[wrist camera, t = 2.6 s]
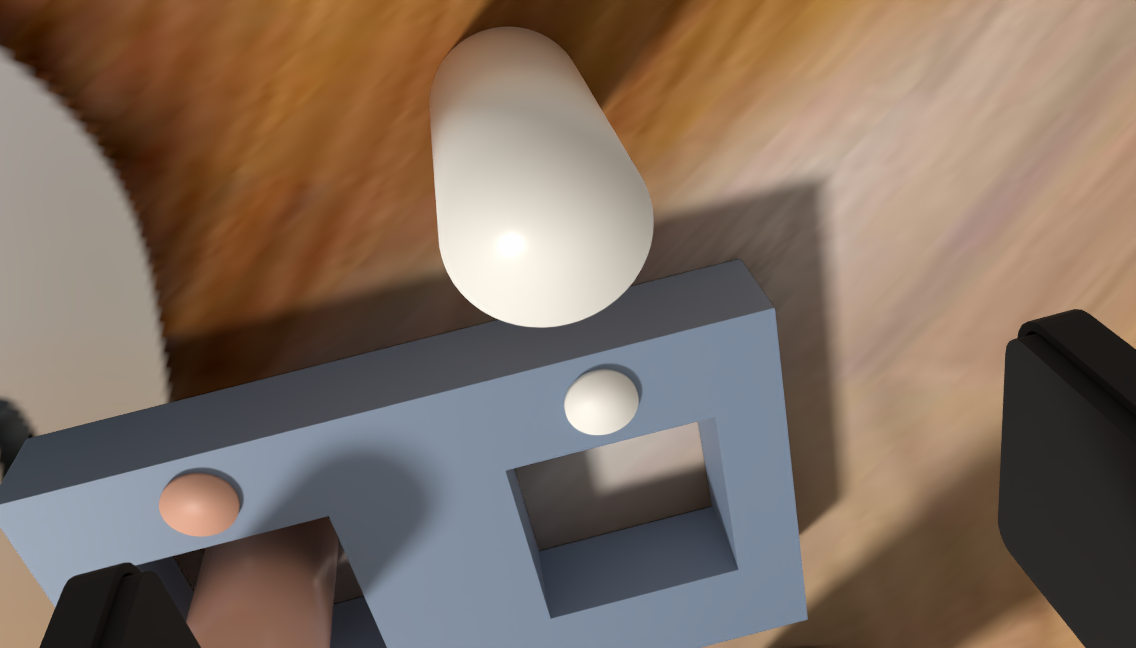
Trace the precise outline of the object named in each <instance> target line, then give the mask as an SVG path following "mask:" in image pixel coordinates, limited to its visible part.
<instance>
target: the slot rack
mask: <svg viewBox="0 0 1136 648" xmlns="http://www.w3.org/2000/svg"><path fill="white" fill-rule="evenodd" d="M697 421H698V425H699V431H700V437H701V443H702V449H703V455H704V461H705V468H706V474H707V480H708V486H709V492H710V498H711V504H712V507H708V508H705V509H701V510H697V511H693V512H689V513H685V514H681V515H678V516H674V517H670V518H666V519H662V520H658V521H654V522H651V523H647V524H643V525H639V526H635V527H631V528H627V529H623V530H620V531H616V532H612V533H608V534H604V535H600V536H596V537H593V538H589V539H585V540H581V541H577V542H573V543H569V544H566V545H562V546H558V547H554V548H550V549H546V550H542V551H539V550H538V547H537V543H536V540H535V536H534V533H533V530H532V526H531V523H530V520H529V516H528V513H527V510H526V506H525V503H524V500H523V496H522V493H521V490H520V486H519V483H518V480H517V476H516V473H515V470H514V468H518V467H522V466H526V465H529V464H533V463H537V462H541V461H545V460H549V459H553V458H557V457H561V456H565V455H568V454H572V453H576V452H580V451H584V450H588V449H592V448H596V447H600V446H604V445H607V444H611V443H615V442H619V441H623V440H627V439H631V438H635V437H639V436H643V435H646V434H650V433H654V432H658V431H662V430H666V429H670V428H674V427H678V426H682V425H685V424H689V423H693V422H697ZM327 516H329V518H330V520H331V522H332V524H333V527H334V529H335V531H336V533H337V536H338V538H339V540H340V543H341V545H342V547H343V549H344V552H345V554H346V556H347V558H348V561H349V563H350V565H351V567H352V570H353V572H354V574H355V576H356V579H357V581H358V583H359V585H360V588H361V590H362V592H363V594H364V597H361V598H357V599H353V600H349V601H345V602H341V603H338V604H334V606H333V617H332V629H331V640H330V648H701V647H705V646H709V645H712V644H716V643H720V642H724V641H728V640H731V639H735V638H739V637H743V636H747V635H751V634H754V633H758V632H762V631H766V630H770V629H773V628H777V627H781V626H785V625H789V624H792V623H796V622H800V621H804V620H808V617H807V607H806V598H805V588H804V579H803V569H802V560H801V550H800V541H799V532H798V522H797V513H796V503H795V494H794V484H793V475H792V465H791V456H790V446H789V437H788V427H787V418H786V408H785V399H784V390H783V380H782V371H781V361H780V352H779V342H778V333H777V323H776V314H775V307H774V306H773V304H772V303H771V302H770V300H769V299H768V297H767V296H766V294H765V293H764V292H763V290H762V289H761V287H760V286H759V284H758V283H757V282H756V280H755V279H754V277H753V276H752V274H751V273H750V272H749V270H748V269H747V267H746V266H745V264H744V263H743V261H742V260H741V259H737V260H734V261H730V262H726V263H722V264H718V265H714V266H710V267H706V268H702V269H698V270H694V271H690V272H686V273H682V274H678V275H674V276H670V277H666V278H662V279H658V280H654V281H650V282H646V283H642V284H638V285H634V286H630V287H629V288H628V289H627V290H626V291H625V292H624V293H623V294H622V295H621V296H620V297H619V298H618V299H617V300H615V301H614V302H613V303H611V304H610V305H609V306H607V307H606V308H604V309H603V310H601V311H599V312H598V313H596V314H594V315H592V316H590V317H587V318H585V319H583V320H580V321H577V322H574V323H571V324H566V325H561V326H556V327H543V328H542V327H526V326H520V325H515V324H511V323H507V322H504V321H501V320H496V321H492V322H488V323H484V324H480V325H476V326H472V327H468V328H464V329H460V330H456V331H452V332H448V333H444V334H440V335H436V336H432V337H428V338H424V339H420V340H417V341H413V342H409V343H405V344H401V345H397V346H393V347H389V348H385V349H381V350H377V351H373V352H369V353H365V354H361V355H357V356H353V357H349V358H345V359H341V360H337V361H333V362H329V363H325V364H321V365H317V366H313V367H310V368H306V369H302V370H298V371H294V372H290V373H286V374H282V375H278V376H274V377H270V378H266V379H262V380H258V381H254V382H250V383H246V384H242V385H238V386H234V387H230V388H226V389H222V390H218V391H214V392H210V393H206V394H203V395H199V396H195V397H191V398H187V399H183V400H179V401H175V402H171V403H167V404H163V405H159V406H155V407H151V408H148V409H143V410H139V411H135V412H131V413H127V414H123V415H119V416H116V417H112V418H108V419H104V420H100V421H96V422H92V423H88V424H84V425H80V426H76V427H72V428H68V429H64V430H60V431H56V432H53V433H48V434H44V435H40V436H36V437H32V438H28V439H26V441H25V443H24V444H23V446H22V448H21V450H20V451H19V453H18V455H17V457H16V458H15V460H14V462H13V464H12V465H11V467H10V469H9V471H8V472H7V474H6V476H5V477H4V479H3V481H2V483H1V484H0V527H1V529H2V530H3V532H4V533H5V535H6V536H7V538H8V539H9V541H10V542H11V544H12V545H13V547H14V548H15V549H16V551H17V552H18V554H19V555H20V557H21V558H22V560H23V561H24V562H25V564H26V566H27V567H28V568H29V570H30V571H31V573H32V574H33V576H34V577H35V579H36V580H37V582H38V583H39V585H40V586H41V587H42V589H43V590H44V592H45V593H46V595H47V596H48V598H49V599H50V601H51V602H52V604H53V605H54V606H55V607H56V605H57V602H58V600H59V597H60V595H61V592H62V590H63V588H64V586H65V584H66V582H67V581H68V580H69V579H70V578H72V577H73V576H75V575H79V574H83V573H87V572H90V571H94V570H98V569H102V568H105V567H109V566H113V565H117V564H120V563H124V562H130V563H132V564H134V565H135V566H137V568H138V569H139V570H140V571H141V572H145V571H153V572H154V573H156V574H157V575H158V577H159V578H160V579H161V581H162V583H163V585H164V586H165V588H166V590H167V591H168V593H169V595H170V596H171V598H172V600H173V601H174V603H175V605H176V606H177V608H178V610H179V611H180V613H181V615H182V616H183V618H184V620H185V621H186V620H187V616H188V613H189V609H190V605H191V601H192V597H193V593H194V592H193V591H192V589H191V587H190V585H189V584H188V582H187V580H186V578H185V577H184V575H183V573H182V571H181V570H180V568H179V566H178V564H177V563H176V561H175V559H174V557H173V556H175V555H178V554H182V553H186V552H190V551H194V550H198V549H202V548H206V547H210V546H214V545H217V544H221V543H225V542H229V541H233V540H237V539H241V538H245V537H249V536H253V535H256V534H260V533H264V532H268V531H272V530H276V529H280V528H284V527H288V526H292V525H295V524H299V523H303V522H307V521H311V520H315V519H319V518H323V517H327Z"/></svg>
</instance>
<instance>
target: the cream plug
mask: <svg viewBox="0 0 1136 648" xmlns="http://www.w3.org/2000/svg"><path fill="white" fill-rule="evenodd" d="M429 110H430V124H431V138H432V152H433V166H434V180H435V193H436V207H437V221H438V235H439V247H440V252H441V256H442V260H443V263H444V265H445V268H446V270H447V273H448V274H449V276H450V278H451V280H452V282H453V283H454V284H455V286H456V287H457V288H458V290H459V291H460V292H461V294H462V295H463V296H464V297H465V298H466V299H467V300H468V301H469V302H471V303H472V304H473V305H475V306H476V307H477V308H478V309H480V310H481V311H483V312H485V313H487V314H488V315H490V316H492V317H494V318H497V319H499V320H501V321H504V322H507V323H511V324H515V325H520V326H526V327H542V328H543V327H556V326H561V325H566V324H571V323H574V322H577V321H580V320H583V319H585V318H587V317H590V316H592V315H594V314H596V313H598V312H599V311H601V310H603V309H604V308H606V307H607V306H609V305H610V304H611V303H613V302H614V301H615V300H617V299H618V298H619V297H620V296H621V295H622V294H623V293H624V292H625V291H626V290H627V289H628V288H629V286H630V285H631V284H632V283H633V281H634V280H635V279H636V277H637V275H638V274H639V272H640V271H641V269H642V267H643V265H644V263H645V261H646V259H647V256H648V253H649V250H650V247H651V242H652V236H653V225H654V217H653V207H652V203H651V199H650V195H649V192H648V190H647V187H646V185H645V182H644V181H643V179H642V177H641V175H640V174H639V172H638V170H637V169H636V167H635V165H634V164H633V162H632V160H631V159H630V157H629V155H628V154H627V152H626V150H625V148H624V147H623V145H622V143H621V142H620V140H619V138H618V137H617V135H616V133H615V132H614V130H613V128H612V127H611V125H610V123H609V121H608V120H607V118H606V116H605V115H604V113H603V111H602V110H601V108H600V106H599V105H598V103H597V101H596V100H595V98H594V96H593V94H592V93H591V91H590V89H589V88H588V86H587V84H586V83H585V81H584V79H583V78H582V76H581V74H580V73H579V71H578V69H577V67H576V66H575V64H574V62H573V61H572V59H571V58H570V57H569V55H568V54H567V53H566V52H565V51H564V50H563V49H562V48H561V47H560V46H559V45H558V44H557V43H555V42H554V41H553V40H551V39H550V38H548V37H546V36H544V35H543V34H541V33H538V32H535V31H533V30H530V29H525V28H521V27H511V26H509V27H496V28H490V29H487V30H483V31H480V32H478V33H476V34H474V35H471V36H469V37H468V38H466V39H465V40H463V41H462V42H460V43H459V44H458V45H457V46H456V47H454V48H453V49H452V50H451V51H450V52H449V54H448V55H447V56H446V57H445V58H444V60H443V61H442V63H441V64H440V66H439V68H438V70H437V72H436V74H435V76H434V79H433V82H432V86H431V91H430V99H429Z"/></svg>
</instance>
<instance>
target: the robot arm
mask: <svg viewBox="0 0 1136 648" xmlns="http://www.w3.org/2000/svg"><path fill="white" fill-rule="evenodd" d="M998 525H999V530H1000V534H1001V536H1002V539H1003V542H1004V544H1005V546H1006V548H1007V549H1008V551H1009V552H1010V554H1011V555H1012V556H1013V558H1014V559H1015V560H1016V561H1017V563H1018V564H1019V565H1020V566H1021V568H1022V569H1023V570H1024V571H1025V573H1026V574H1027V575H1028V576H1029V578H1030V579H1031V580H1032V581H1033V583H1034V584H1035V585H1036V586H1037V588H1038V589H1039V590H1040V591H1041V593H1042V594H1043V595H1044V596H1045V598H1046V599H1047V600H1048V601H1049V603H1050V604H1051V605H1052V606H1053V608H1054V609H1055V610H1056V611H1057V613H1058V614H1059V615H1060V616H1061V618H1062V619H1063V620H1064V621H1065V623H1066V624H1067V625H1068V626H1069V628H1070V629H1071V630H1072V631H1073V633H1074V634H1075V635H1076V636H1077V638H1078V639H1079V640H1080V641H1081V643H1082V644H1083V645H1084V646H1085V648H1136V349H1134V348H1133V347H1132V346H1131V345H1129V344H1128V343H1127V342H1125V341H1124V340H1123V339H1121V338H1120V337H1119V336H1117V335H1116V334H1115V333H1114V332H1112V331H1111V330H1110V329H1108V328H1107V327H1106V326H1104V325H1103V324H1102V323H1101V322H1099V321H1098V320H1097V319H1095V318H1094V317H1093V316H1091V315H1090V314H1088V313H1087V312H1085V311H1083V310H1078V309H1073V310H1070V311H1066V312H1062V313H1058V314H1055V315H1051V316H1047V317H1043V318H1040V319H1036V320H1032V321H1028V322H1026V323H1024V324H1023V325H1022V326H1021V328H1020V330H1019V332H1018V338H1017V339H1013V340H1011V341H1009V343H1008V345H1007V347H1006V353H1005V375H1004V397H1003V420H1002V442H1001V465H1000V487H999V510H998ZM40 648H201V646H200V645H199V643H198V641H197V640H196V638H195V636H194V635H193V633H192V631H191V630H190V628H189V626H188V625H187V623H186V621H185V620H184V618H183V616H182V615H181V613H180V611H179V610H178V608H177V606H176V605H175V603H174V601H173V600H172V598H171V596H170V595H169V593H168V591H167V590H166V588H165V586H164V585H163V583H162V581H161V579H160V578H159V577H158V575H157V574H156V573H154V572H153V571H145V572H141V571H140V570H139V569H138V568H137V566H135V565H134V564H132V563H130V562H124V563H120V564H117V565H113V566H109V567H105V568H102V569H98V570H94V571H90V572H87V573H83V574H79V575H75V576H73V577H72V578H70V579H69V580H68V581H67V582H66V584H65V586H64V588H63V590H62V592H61V595H60V597H59V600H58V602H57V605H56V607H55V610H54V612H53V615H52V618H51V620H50V623H49V625H48V628H47V630H46V633H45V636H44V638H43V640H42V643H41V645H40Z"/></svg>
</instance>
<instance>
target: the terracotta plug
mask: <svg viewBox="0 0 1136 648" xmlns="http://www.w3.org/2000/svg"><path fill="white" fill-rule="evenodd" d="M338 544H339V543H338V537H337V534H336V531H335V529H334V527H333V525H332V524H331V522H330V521H329V520H328V519H327V518H326V517H323V518H319V519H315V520H311V521H307V522H303V523H299V524H295V525H292V526H288V527H284V528H280V529H276V530H272V531H268V532H264V533H260V534H256V535H253V536H249V537H245V538H241V539H237V540H233V541H229V542H225V543H221V544H217V545H214V546H210V547H206V548H205V551H204V555H203V559H202V563H201V566H200V570H199V574H198V578H197V582H196V586H195V589H194V593H193V597H192V601H191V605H190V609H189V613H188V616H187V620H186V623H187V625H188V626H189V628H190V630H191V631H192V633H193V635H194V636H195V638H196V640H197V641H198V643H199V645H200V646H201V648H330V640H331V629H332V617H333V606H334V594H335V583H336V571H337V560H338Z"/></svg>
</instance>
